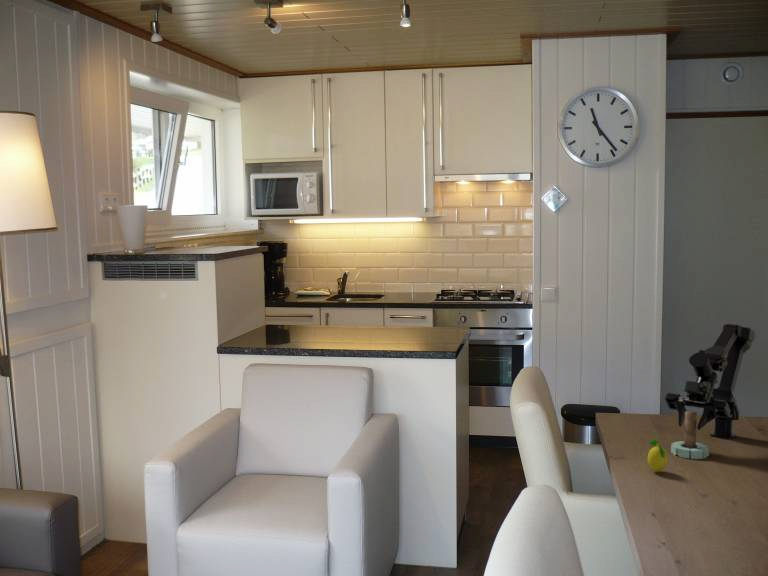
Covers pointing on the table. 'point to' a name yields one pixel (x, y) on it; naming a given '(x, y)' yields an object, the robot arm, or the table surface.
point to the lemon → (657, 456)
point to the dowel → (690, 429)
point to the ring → (690, 450)
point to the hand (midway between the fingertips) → (688, 427)
